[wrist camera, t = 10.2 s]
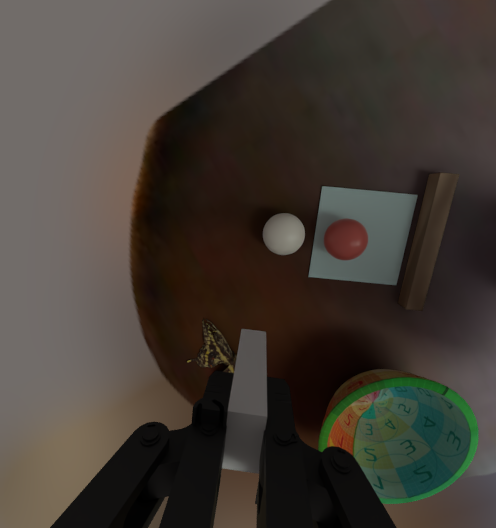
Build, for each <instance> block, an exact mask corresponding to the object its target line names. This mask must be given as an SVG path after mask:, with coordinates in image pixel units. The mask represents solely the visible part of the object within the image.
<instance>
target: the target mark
mask: <svg viewBox="0 0 496 528" xmlns="http://www.w3.org/2000/svg"><path fill="white" fill-rule="evenodd" d="M417 197H418V195H413V194H402V193H391V192H380V191H370V190H359V189H348V188H337V187H327V186H322V190H321V197H320V203H319V210H318V216H317V223H316V230H315V236H314V243H313V249H312V256H311V262H310V269H309V275H308V277H315V278H326V279H336V280H346V281H356V282H367V283H377V284H387V285H396V284H397V280H398V276H399V272H400V268H401V264H402V259H403V255H404V251H405V247H406V243H407V238H408V234H409V230H410V226H411V222H412V217H413V213H414V209H415V205H416V201H417ZM344 218H349V219H354V220H356V221H358V222H360V223H361V224H362V225H363V226H364V227H365V229H366V231H367V233H368V244H367V247H366V249H365V251H364V252H363V253H362V254H361V255H360V256H358V257H357V258H355V259H352V260H339V259H336V258H334V257H332V256H331V255H330V254H329V253H328V252H327V250H326V248H325V246H324V234H325V232H326V230H327V228H328V227H329V226H330V225H331V224H332V223H333V222H335V221H337V220H339V219H344Z"/></svg>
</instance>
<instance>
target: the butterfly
mask: <svg viewBox="0 0 496 528" xmlns="http://www.w3.org/2000/svg"><path fill="white" fill-rule="evenodd" d="M204 320H205V319H204ZM206 320H207V319H206ZM202 321H203V320H202ZM208 321H209V320H208ZM209 322H210V321H209ZM202 323H203V337H204V342H205V343H206V345H203V347H202V349H200V353H199V354H197V355H198V358H197V359H193V360H188V361H187V362H192V361H196V362H197V363H198V364H197V365H200V366H201V367H209V368H212V367H214V366H215V365H217V364H220V363H224V365H229V364H230V365H229V366H228V368H226V369H225V370H224V371H223V372H229V373H233V372H234V371H235V365H236V359H237V356H235V355H236V354H234V357H232V352H233V351H232V352H231V349H230V347H229V345H228V343H227V341H226V340H225V338H224V337H223V335H222V334H221V333H220V331H219V330H218V329H217V328H216V327H215V326H214V325H213V324H212V323H211V322H210V323H211V324H212V325H213V326H214V328H215V329H216V331H215V329H213V327H210V326H211V325H209V324H210V323H209V324H208V323H206V324H207V325H209V327H207V326H206V325H205V324H204V321H203V322H202ZM205 326H206V327H207V328H212V331H213V332H214V331H215V332H216V334H215V333H214V334H215V336H214V337H215V338H213V335H212V334H209V333H211V331H208V329H207V328H206V327H205ZM210 330H211V329H210ZM208 332H209V333H208ZM213 332H212V333H213ZM206 333H207V334H206ZM218 333H219V334H218ZM208 336H209V337H208ZM217 336H219V337H217ZM211 337H212V338H213V339H212V338H211ZM216 337H217V338H219V339H218V340H219V341H220V342H219V341H218V340H217V339H216ZM220 337H221V338H220ZM210 339H211V340H210ZM214 339H215V340H216V342H215V340H214ZM222 340H223V341H222ZM210 341H211V344H210ZM221 341H222V343H221ZM216 343H217V345H216ZM214 344H215V345H216V346H215V345H214ZM220 344H221V345H220ZM233 353H234V352H233Z"/></svg>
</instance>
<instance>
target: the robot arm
mask: <svg viewBox="0 0 496 528" xmlns="http://www.w3.org/2000/svg"><path fill="white" fill-rule="evenodd" d="M222 468H224V469H231V470H238V471H245V472H252V473H259V482H258V489H257V495H256V501H255V504H257V528H396V526H395V524H394V523H393V521H392V519H391V518H390V516H389V514H388V513H387V511H386V509H385V508H384V506H383V504H382V502H381V501H380V499H379V497H378V496H377V494H376V492H375V491H374V489H373V487H372V485H371V484H370V482H369V480H368V479H367V477H366V475H365V474H364V472H363V470H362V469H361V467H360V465H359V463H358V462H357V460H356V459H355V458H354V457H353V455H351V454H350V453H349V452H348V451H346V450H345V449H342V448H340V447H335V446H330V447H327V448H325V449H324V451H323V452H321V451H318V450H316V449H314V448H312V447H310V446H308V445H306V444H305V443H304V442H303V441H302V440H301V439H300V438H299V435H298V434H297V432H296V430H295V424H294V417H293V410H292V403H291V396H290V388H289V386H288V384H287V383H286V381H285V380H284V379H278V378H271V377H267V367H266V332H263V331H256V330H248V329H242V330H241V336H240V342H239V348H238V353H237V359H236V365H235V371H234V373H229V372H221V371H215V372H214V373H213V374H212V375H211V376H210V377H209V380H208V383H207V386H206V390H205V393H204V396H203V398H202V399H200V400H199V401H197V402H196V403H195V405H194V406H193V414H192V424H191V425H189V426H187V427H186V428H183V429H179V430H172V431H169V430H168V428H167V426H165V425H164V424H162V423H158V422H150V423H146V424H144V425H142V426H140V427H139V428H138V429H137V430H135V431H134V432H133V434H132V435H131V436H130V437H129V438H128V439H127V441H126V442H125V443H124V444H123V445H122V446H121V447H120V448H119V450H118V451H117V452H116V453H115V454H114V455H113V457H112V458H111V459H110V460H109V461H108V462H107V463H106V464H105V466H104V467H103V468H102V469H101V470H100V471H99V473H98V474H97V475H96V476H95V477H94V478H93V479H92V480H91V482H90V483H89V484H88V485H87V486H86V487H85V489H84V490H83V491H82V492H81V493H80V494H79V495H78V496H77V498H76V499H75V500H74V501H73V502H72V503H71V504H70V506H69V507H68V508H67V509H66V510H65V511H64V512H63V514H62V515H61V516H60V517H59V518H58V519H57V520H56V521H55V523H54V524H53V525H52V526H51V527H50V528H148V527H149V525H150V523H151V521H152V520H153V518H154V516H155V514H156V512H157V511H158V509H159V507H160V506H161V504H162V502H163V500H164V498H165V497H167V496H169V498H168V501H167V505H166V508H165V511H164V514H163V517H162V520H161V523H160V527H159V528H213V525H214V518H215V512H216V505H217V498H218V492H219V486H220V477H221V470H222Z"/></svg>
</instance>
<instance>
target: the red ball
mask: <svg viewBox="0 0 496 528" xmlns="http://www.w3.org/2000/svg"><path fill="white" fill-rule="evenodd" d="M367 244H368V233H367V231H366V229H365V227H364V226H363V225H362V224H361V223H360V222H358V221H356V220H354V219H349V218H344V219H339V220H337V221H335V222H333V223H332V224H331V225H330V226H329V227H328V228H327V230H326V232H325V234H324V246H325V248H326V250H327V252H328V253H329V254H330V255H331V256H332V257H334V258H336V259H339V260H352V259H355V258H357V257H358V256H360V255H361V254H362V253H363V252H364V251H365V249H366V247H367Z"/></svg>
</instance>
